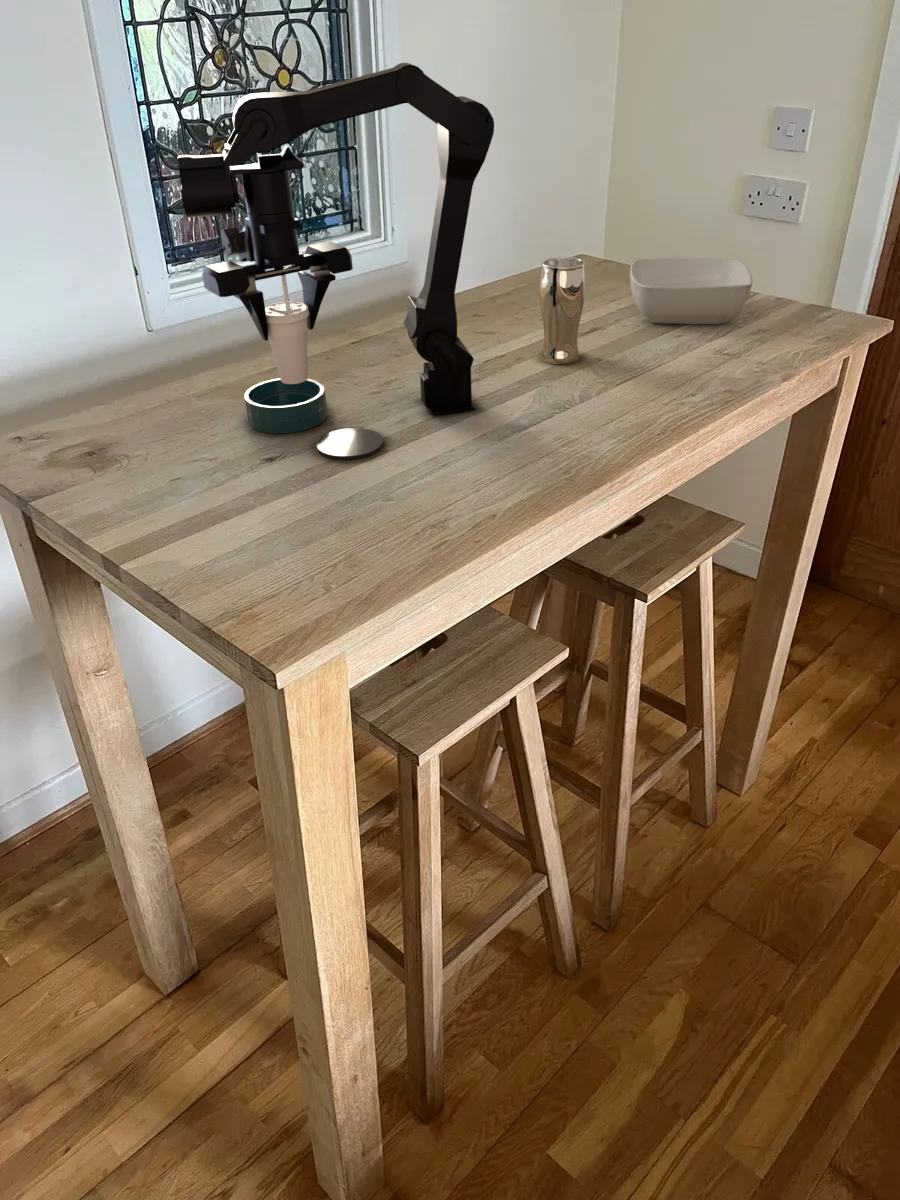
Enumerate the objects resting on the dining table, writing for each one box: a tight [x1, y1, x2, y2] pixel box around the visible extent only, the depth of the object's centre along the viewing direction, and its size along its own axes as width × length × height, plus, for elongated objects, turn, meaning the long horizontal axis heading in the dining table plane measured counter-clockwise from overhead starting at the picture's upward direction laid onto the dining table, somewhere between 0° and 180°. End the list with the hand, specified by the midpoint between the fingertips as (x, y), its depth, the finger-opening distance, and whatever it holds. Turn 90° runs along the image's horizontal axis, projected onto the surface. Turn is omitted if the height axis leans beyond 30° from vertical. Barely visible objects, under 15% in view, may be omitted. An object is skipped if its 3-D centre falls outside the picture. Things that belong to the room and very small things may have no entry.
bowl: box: [629, 257, 753, 325], centre depth 162 cm, size 20×20×8 cm
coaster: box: [315, 427, 385, 461], centre depth 122 cm, size 9×9×1 cm
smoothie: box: [265, 274, 309, 384], centre depth 122 cm, size 6×6×14 cm
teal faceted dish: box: [243, 377, 328, 434], centre depth 130 cm, size 11×11×4 cm
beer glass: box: [539, 256, 586, 365], centre depth 143 cm, size 7×7×15 cm
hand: (288, 334), depth 122 cm, fingers closed on smoothie, 6 cm apart
